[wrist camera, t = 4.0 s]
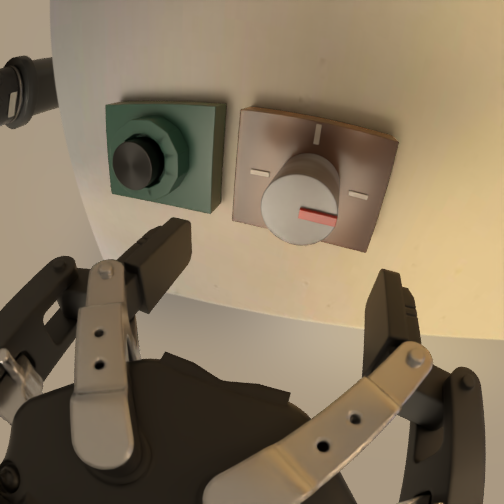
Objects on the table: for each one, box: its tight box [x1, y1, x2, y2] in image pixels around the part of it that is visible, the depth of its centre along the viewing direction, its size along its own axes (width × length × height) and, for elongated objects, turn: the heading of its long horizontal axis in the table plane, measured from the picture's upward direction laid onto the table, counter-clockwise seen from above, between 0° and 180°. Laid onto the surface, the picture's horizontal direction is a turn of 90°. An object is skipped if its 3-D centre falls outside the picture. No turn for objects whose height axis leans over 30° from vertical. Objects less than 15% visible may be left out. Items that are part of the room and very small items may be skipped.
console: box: [106, 101, 226, 214], centre depth 23 cm, size 11×9×4 cm
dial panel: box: [232, 107, 399, 253], centre depth 21 cm, size 11×9×3 cm
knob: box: [261, 153, 340, 245], centre depth 18 cm, size 4×4×5 cm
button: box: [112, 137, 164, 190], centre depth 21 cm, size 4×4×2 cm
